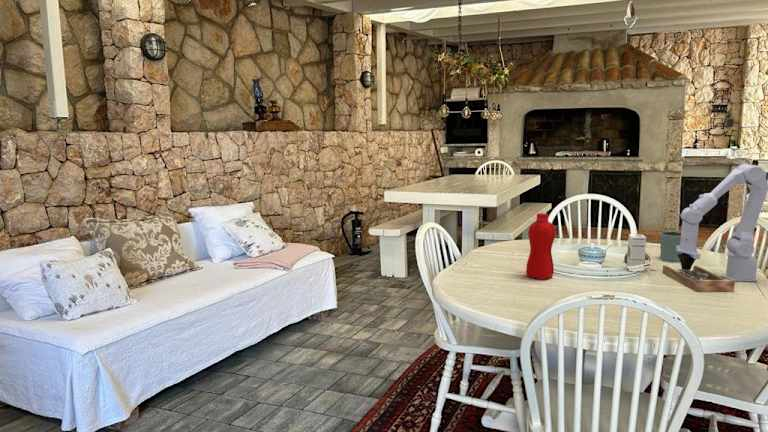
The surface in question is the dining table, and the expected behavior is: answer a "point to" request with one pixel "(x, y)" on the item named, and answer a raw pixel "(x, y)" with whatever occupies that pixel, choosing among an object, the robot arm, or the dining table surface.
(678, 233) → the grey cup
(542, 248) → the water bottle
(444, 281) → the dining table surface
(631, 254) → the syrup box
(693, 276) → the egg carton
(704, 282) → the bay
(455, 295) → the dining table surface
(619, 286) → the dining table surface
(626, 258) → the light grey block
